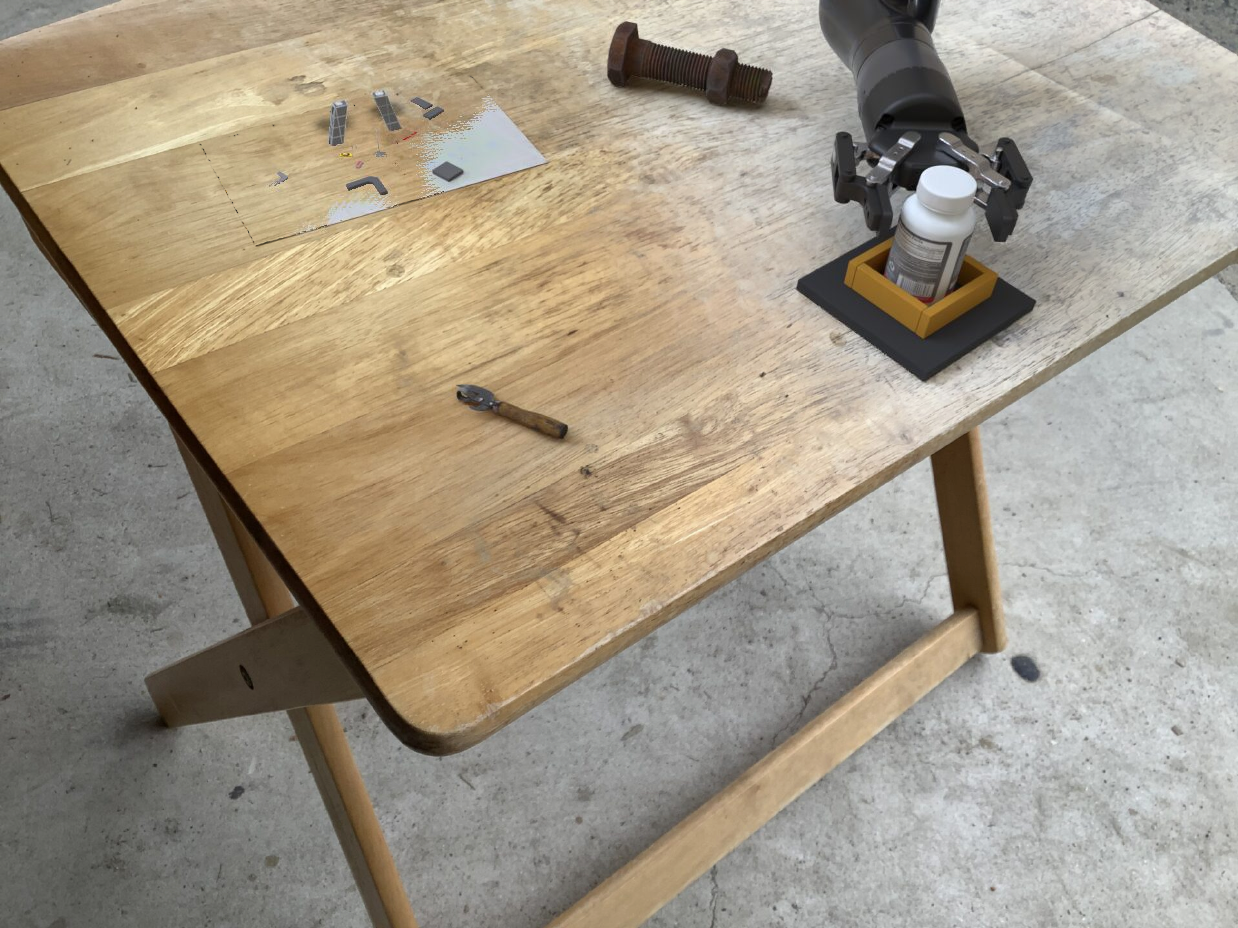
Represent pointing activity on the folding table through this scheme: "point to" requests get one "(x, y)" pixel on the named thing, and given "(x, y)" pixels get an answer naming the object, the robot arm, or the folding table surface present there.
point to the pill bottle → (933, 234)
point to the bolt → (685, 68)
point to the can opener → (511, 411)
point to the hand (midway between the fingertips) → (945, 230)
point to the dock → (914, 308)
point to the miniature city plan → (483, 153)
